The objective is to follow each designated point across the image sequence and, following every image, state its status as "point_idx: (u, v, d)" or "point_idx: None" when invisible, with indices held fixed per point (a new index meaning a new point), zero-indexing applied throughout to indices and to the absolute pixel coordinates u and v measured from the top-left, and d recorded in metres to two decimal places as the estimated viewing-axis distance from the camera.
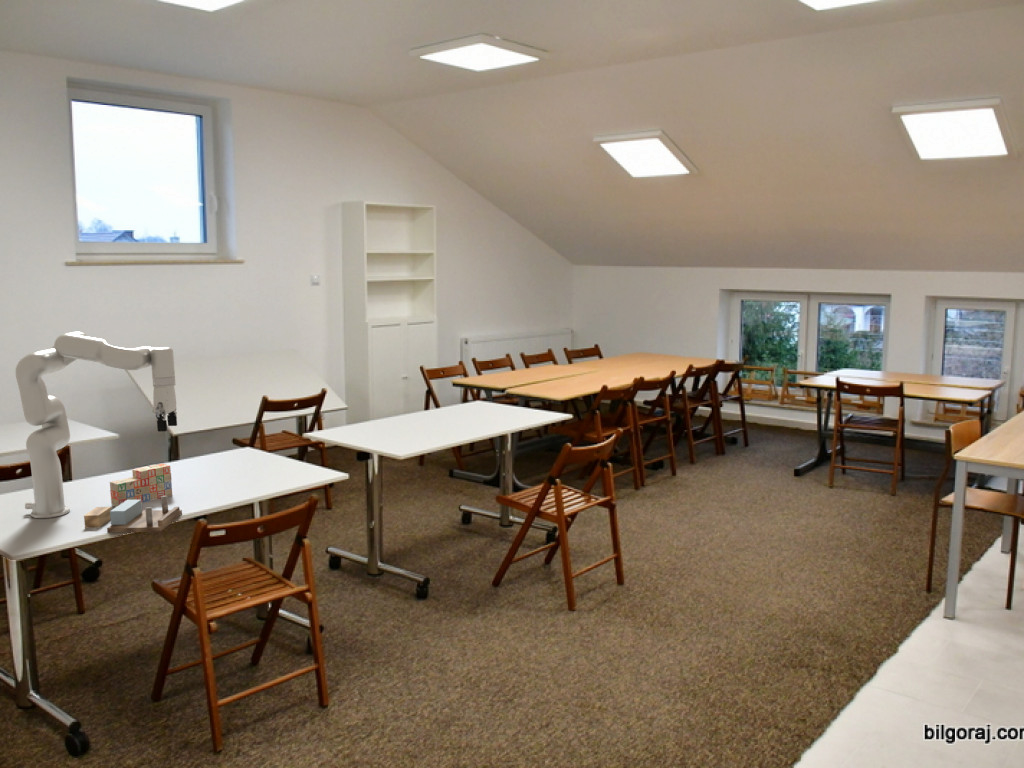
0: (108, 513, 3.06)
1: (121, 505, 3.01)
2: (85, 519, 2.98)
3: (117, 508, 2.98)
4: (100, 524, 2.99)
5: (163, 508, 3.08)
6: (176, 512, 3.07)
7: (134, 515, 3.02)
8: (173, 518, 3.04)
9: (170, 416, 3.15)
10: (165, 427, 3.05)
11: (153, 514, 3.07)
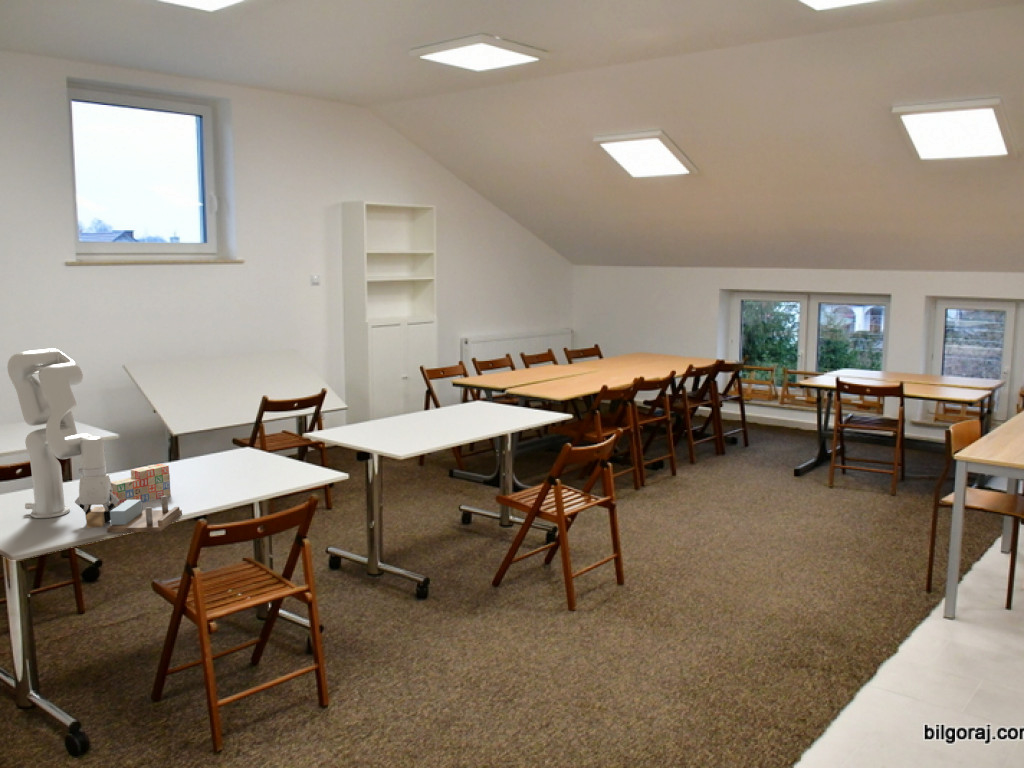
0: None
1: (121, 505, 3.01)
2: (87, 519, 2.97)
3: (117, 508, 2.98)
4: (102, 523, 2.99)
5: (163, 508, 3.08)
6: (176, 512, 3.07)
7: (134, 515, 3.02)
8: (173, 518, 3.04)
9: None
10: None
11: (153, 514, 3.07)
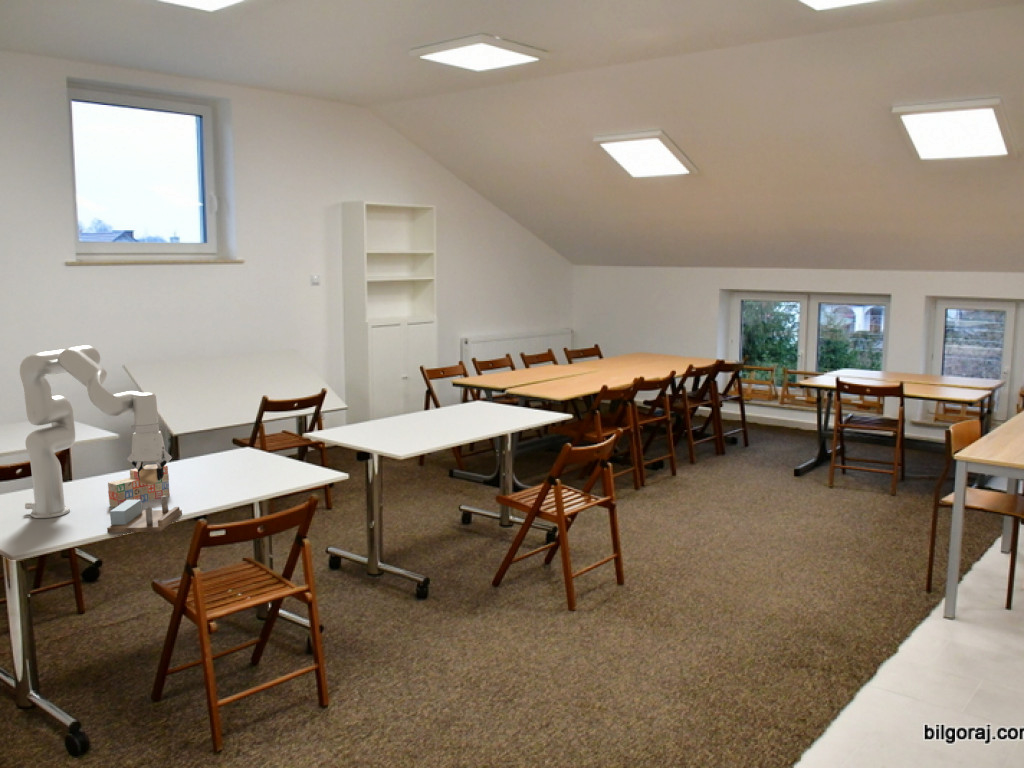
0: None
1: (121, 505, 3.01)
2: (140, 475, 2.94)
3: (117, 508, 2.98)
4: (155, 480, 2.96)
5: (163, 508, 3.08)
6: (176, 512, 3.07)
7: (134, 515, 3.02)
8: (173, 518, 3.04)
9: None
10: None
11: (153, 514, 3.07)
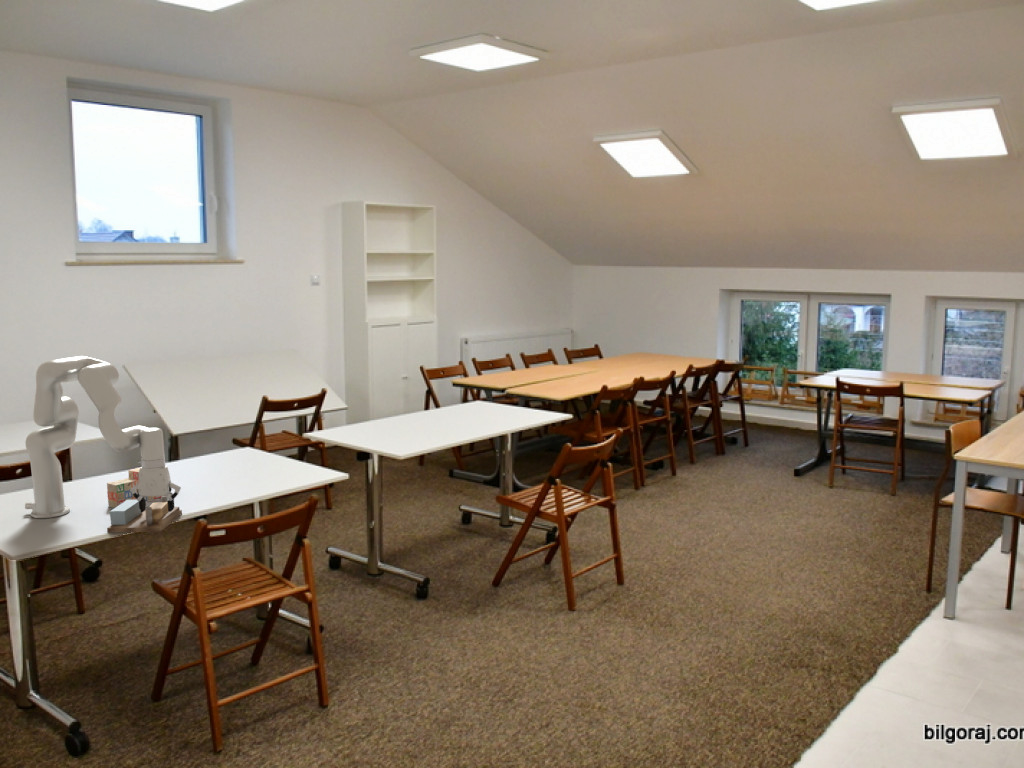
0: (166, 508, 3.05)
1: (121, 505, 3.01)
2: None
3: (117, 508, 2.98)
4: None
5: None
6: (176, 512, 3.07)
7: (134, 515, 3.02)
8: (173, 518, 3.04)
9: (143, 501, 3.01)
10: None
11: None
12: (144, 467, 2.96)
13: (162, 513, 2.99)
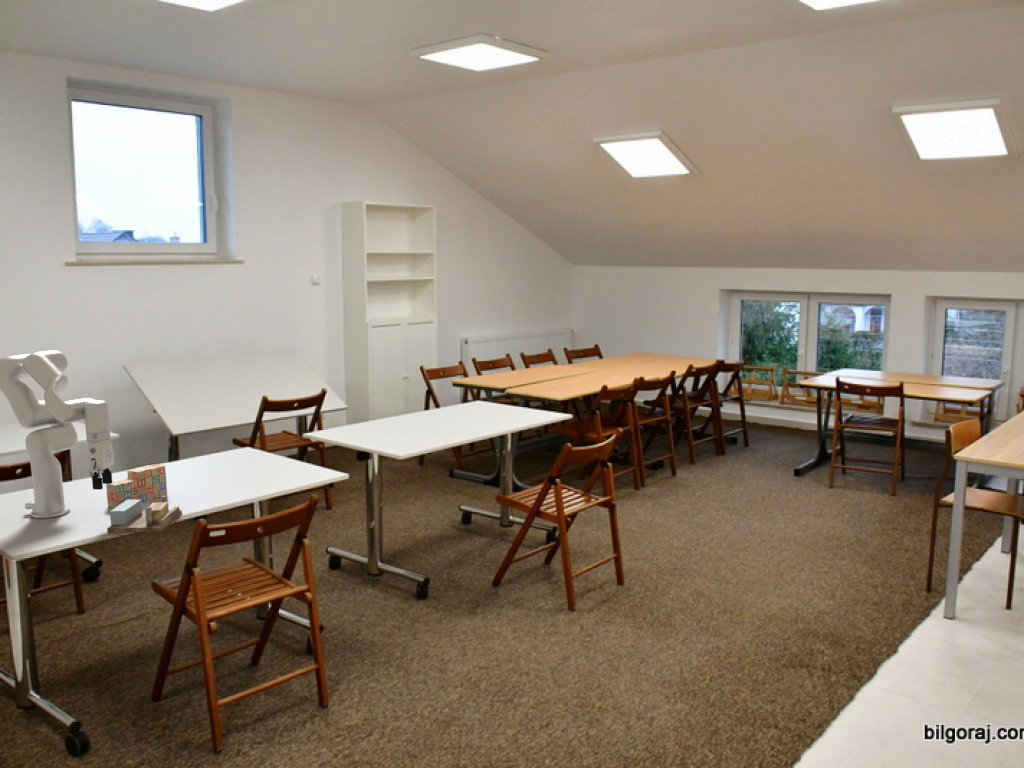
0: (166, 508, 3.05)
1: (121, 505, 3.01)
2: None
3: (117, 508, 2.98)
4: None
5: None
6: (176, 512, 3.07)
7: (134, 515, 3.02)
8: (173, 518, 3.04)
9: None
10: None
11: None
12: (105, 439, 2.96)
13: (162, 513, 2.99)
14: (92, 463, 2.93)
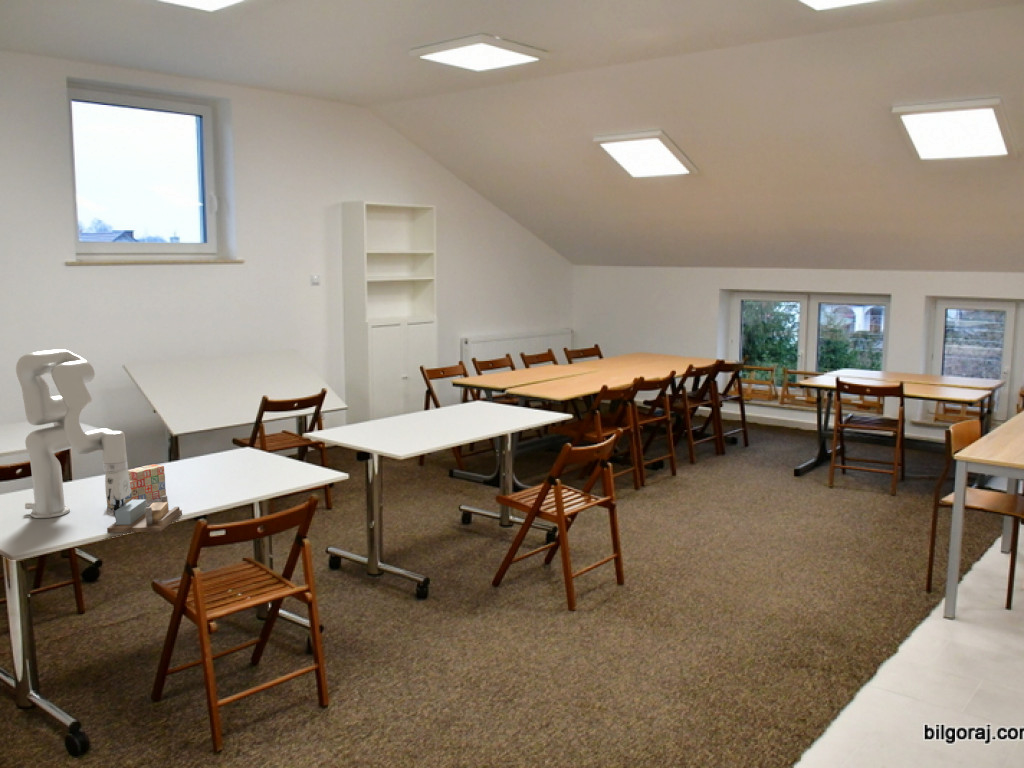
0: (166, 508, 3.05)
1: (126, 505, 3.01)
2: None
3: (122, 508, 2.98)
4: None
5: None
6: (176, 512, 3.07)
7: (139, 515, 3.02)
8: (173, 518, 3.04)
9: None
10: None
11: None
12: (122, 469, 2.97)
13: (162, 513, 2.99)
14: (111, 496, 2.96)
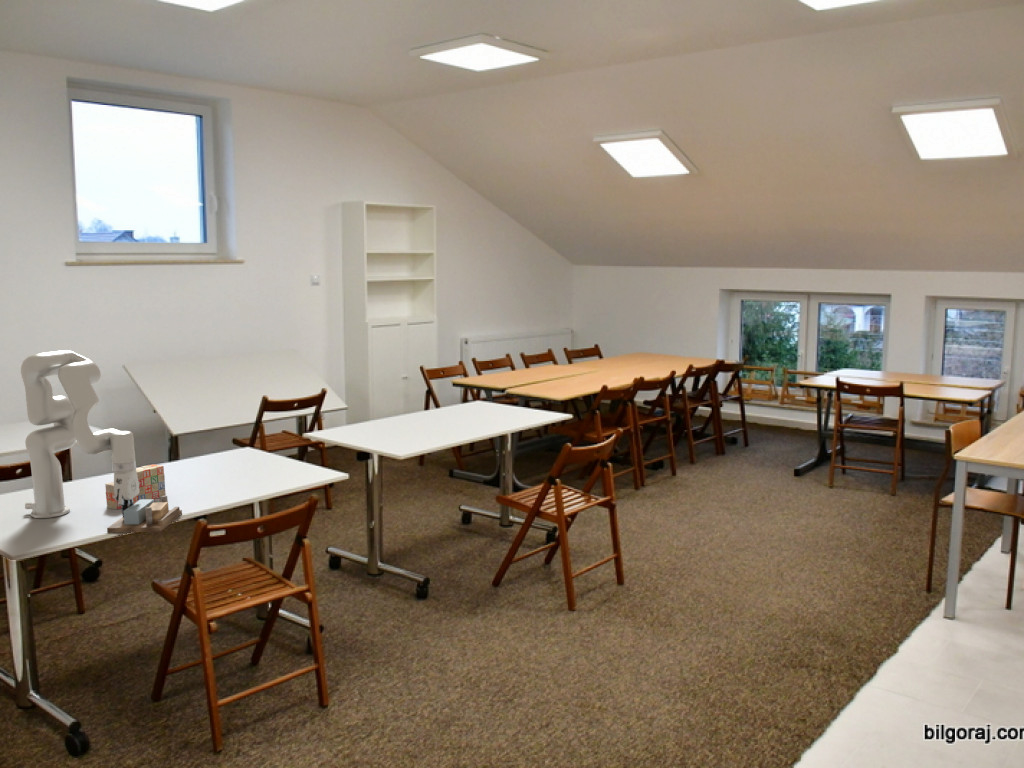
0: (166, 508, 3.05)
1: (134, 505, 3.01)
2: None
3: (130, 508, 2.98)
4: None
5: None
6: (176, 512, 3.07)
7: None
8: (173, 518, 3.04)
9: None
10: None
11: None
12: (131, 469, 2.98)
13: (162, 513, 2.99)
14: (120, 496, 2.96)
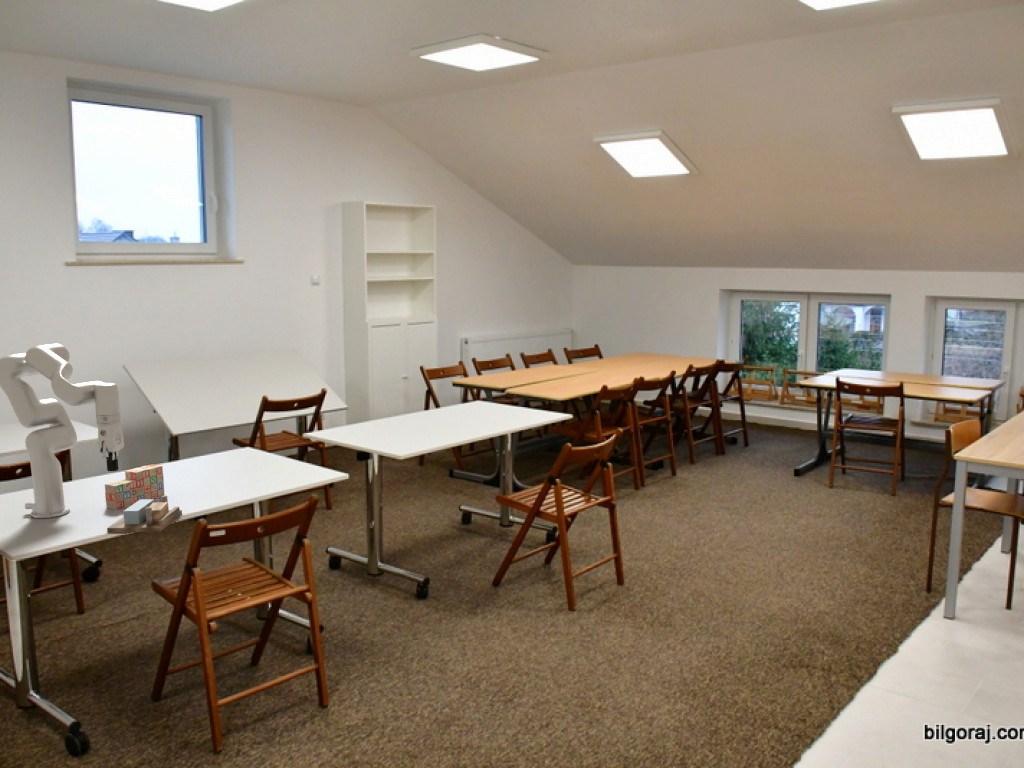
0: (166, 508, 3.05)
1: (134, 505, 3.01)
2: None
3: (130, 508, 2.98)
4: None
5: None
6: (176, 512, 3.07)
7: None
8: (173, 518, 3.04)
9: None
10: None
11: None
12: (115, 421, 2.95)
13: (162, 513, 2.99)
14: (104, 448, 2.93)
